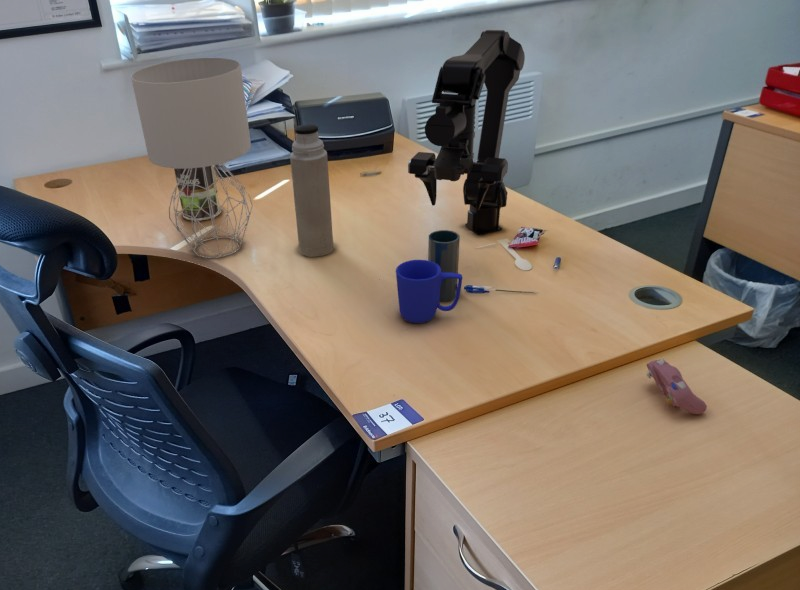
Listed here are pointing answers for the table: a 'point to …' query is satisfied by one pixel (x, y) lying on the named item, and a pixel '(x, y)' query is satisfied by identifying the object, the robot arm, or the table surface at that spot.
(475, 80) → the robot arm
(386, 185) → the table surface
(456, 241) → the pencil cup
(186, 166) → the table lamp
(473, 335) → the table surface
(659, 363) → the toy shoe
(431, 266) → the mug
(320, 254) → the thermos bottle
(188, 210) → the coffee can
